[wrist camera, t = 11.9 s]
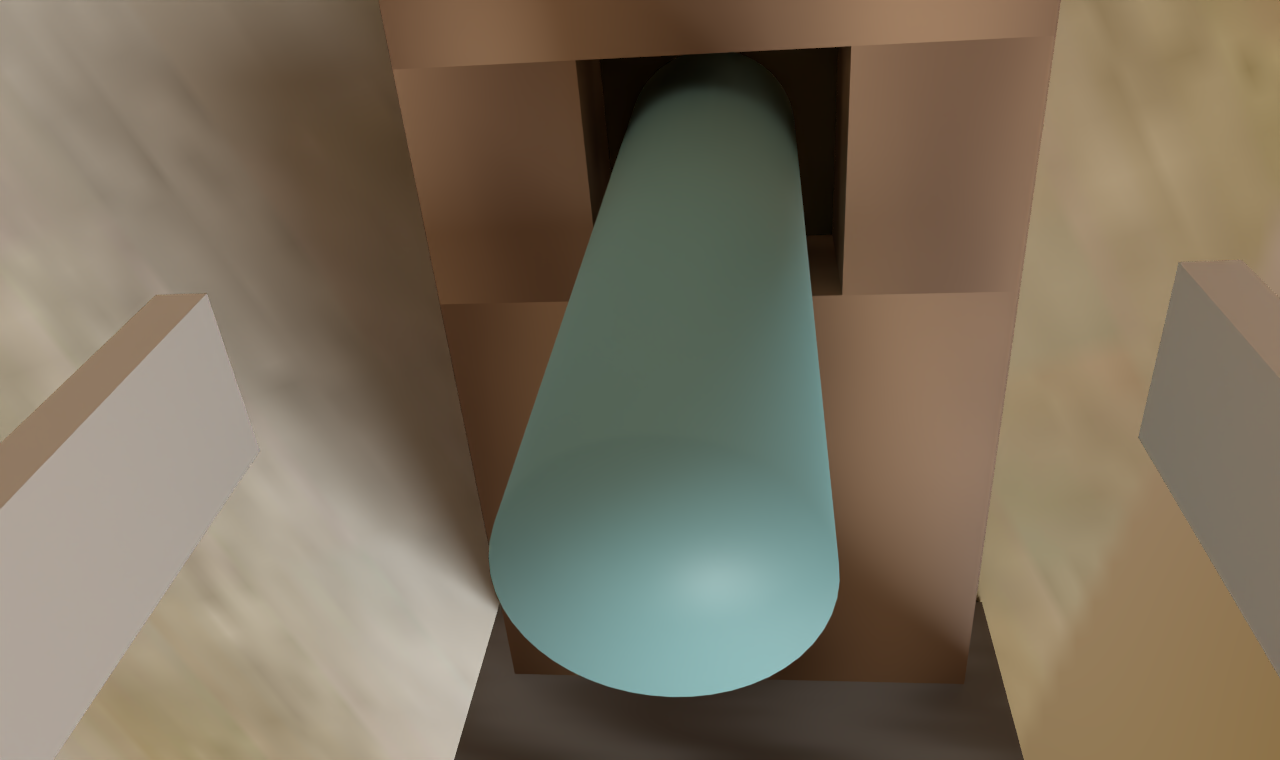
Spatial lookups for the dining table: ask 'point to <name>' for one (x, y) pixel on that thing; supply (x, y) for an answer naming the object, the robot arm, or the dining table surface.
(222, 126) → the dining table surface
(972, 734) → the socket station
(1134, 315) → the dining table surface
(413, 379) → the dining table surface
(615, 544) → the peg
